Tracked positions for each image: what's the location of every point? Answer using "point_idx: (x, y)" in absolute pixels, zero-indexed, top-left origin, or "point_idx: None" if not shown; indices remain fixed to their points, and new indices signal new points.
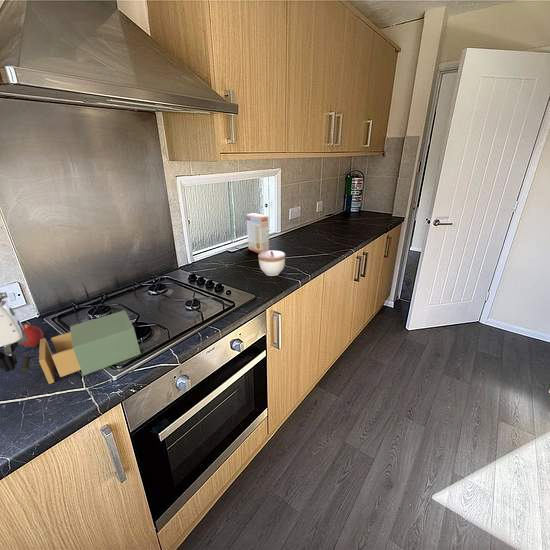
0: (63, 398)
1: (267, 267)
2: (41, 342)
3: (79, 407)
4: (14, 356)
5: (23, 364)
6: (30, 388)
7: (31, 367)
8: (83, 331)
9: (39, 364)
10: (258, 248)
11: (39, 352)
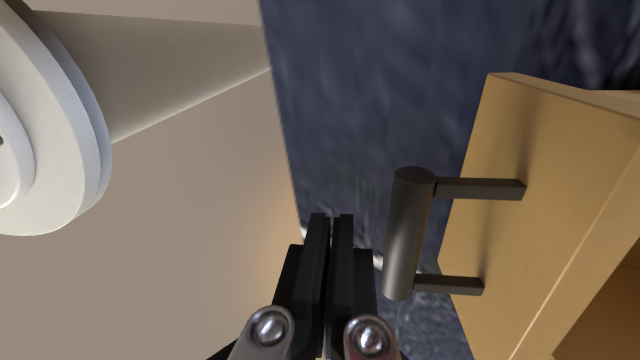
0: (451, 313)
1: None
2: (619, 212)
3: (471, 355)
4: (373, 285)
5: (398, 270)
6: (374, 216)
7: (425, 290)
8: None
9: (464, 292)
10: None
11: (525, 336)
